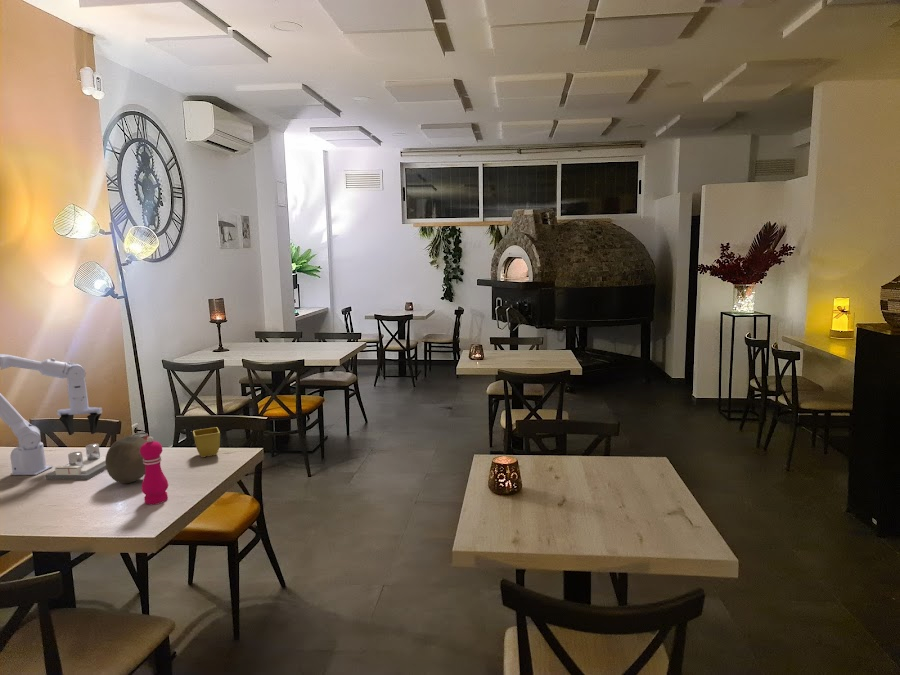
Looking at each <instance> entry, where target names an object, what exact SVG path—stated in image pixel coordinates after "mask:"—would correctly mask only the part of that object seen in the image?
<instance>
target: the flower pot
mask: <svg viewBox="0 0 900 675" xmlns="http://www.w3.org/2000/svg"><path fill="white" fill-rule="evenodd" d="M192 434H193V439H194V444H195V447H196V450H197V453H198V455H199V456H200V457H201V458H205V457H206V456H207V457H212V455H213V456H216V455H217V454H218V452H219V449H220V445H221V432H220V430H219V428H218V427H217V426H216V427H215V426H214V427H209V428H203V429H202V428H201V429H195V430H193V431H192Z"/></svg>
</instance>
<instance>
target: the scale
mask: <svg viewBox="0 0 900 675" xmlns="http://www.w3.org/2000/svg"><path fill="white" fill-rule="evenodd" d="M82 458H83V466H84V467H82V468H81V466H69V463H67V464H65V465H57V466H55V467H54V470H53V471H51V472H50V473H49V472H48V473H47V474H45V479H46V480H90V479H92V478H93V477H95V475H96V476H97V475H99V474H101V473H103V472H105V471H107V468H106V461H105V460H106V456H100V459H97V460H93V461H88V460H87V456H82ZM102 471H103V472H102ZM100 472H101V473H100Z"/></svg>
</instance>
